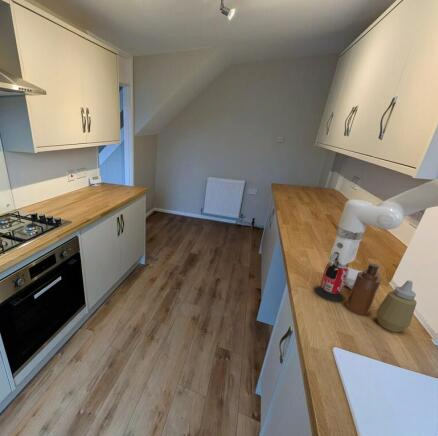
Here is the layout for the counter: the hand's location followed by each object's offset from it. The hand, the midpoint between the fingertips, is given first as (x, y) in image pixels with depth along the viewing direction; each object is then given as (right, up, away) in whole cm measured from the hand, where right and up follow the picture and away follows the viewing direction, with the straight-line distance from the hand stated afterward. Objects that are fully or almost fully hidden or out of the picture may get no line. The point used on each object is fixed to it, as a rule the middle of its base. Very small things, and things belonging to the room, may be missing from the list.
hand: (335, 274), depth 93 cm
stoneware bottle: (+4, -12, -4) cm, 13 cm away
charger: (+14, -8, +8) cm, 18 cm away
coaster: (0, -9, +3) cm, 9 cm away
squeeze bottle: (+9, -15, -12) cm, 21 cm away
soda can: (0, -7, +3) cm, 7 cm away
